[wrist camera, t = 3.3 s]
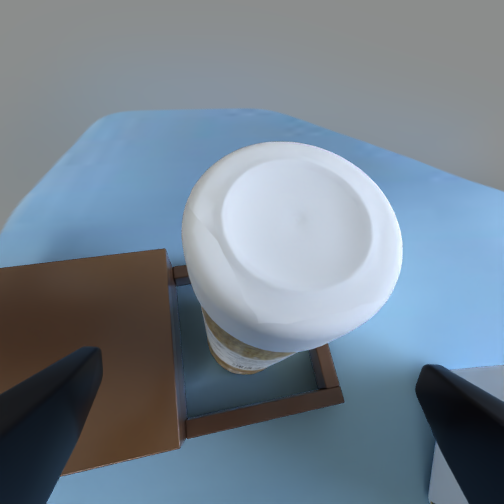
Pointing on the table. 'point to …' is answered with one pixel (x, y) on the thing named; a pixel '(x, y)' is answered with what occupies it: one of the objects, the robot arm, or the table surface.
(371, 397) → the table surface
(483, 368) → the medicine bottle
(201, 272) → the sprinkles bottle
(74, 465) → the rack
